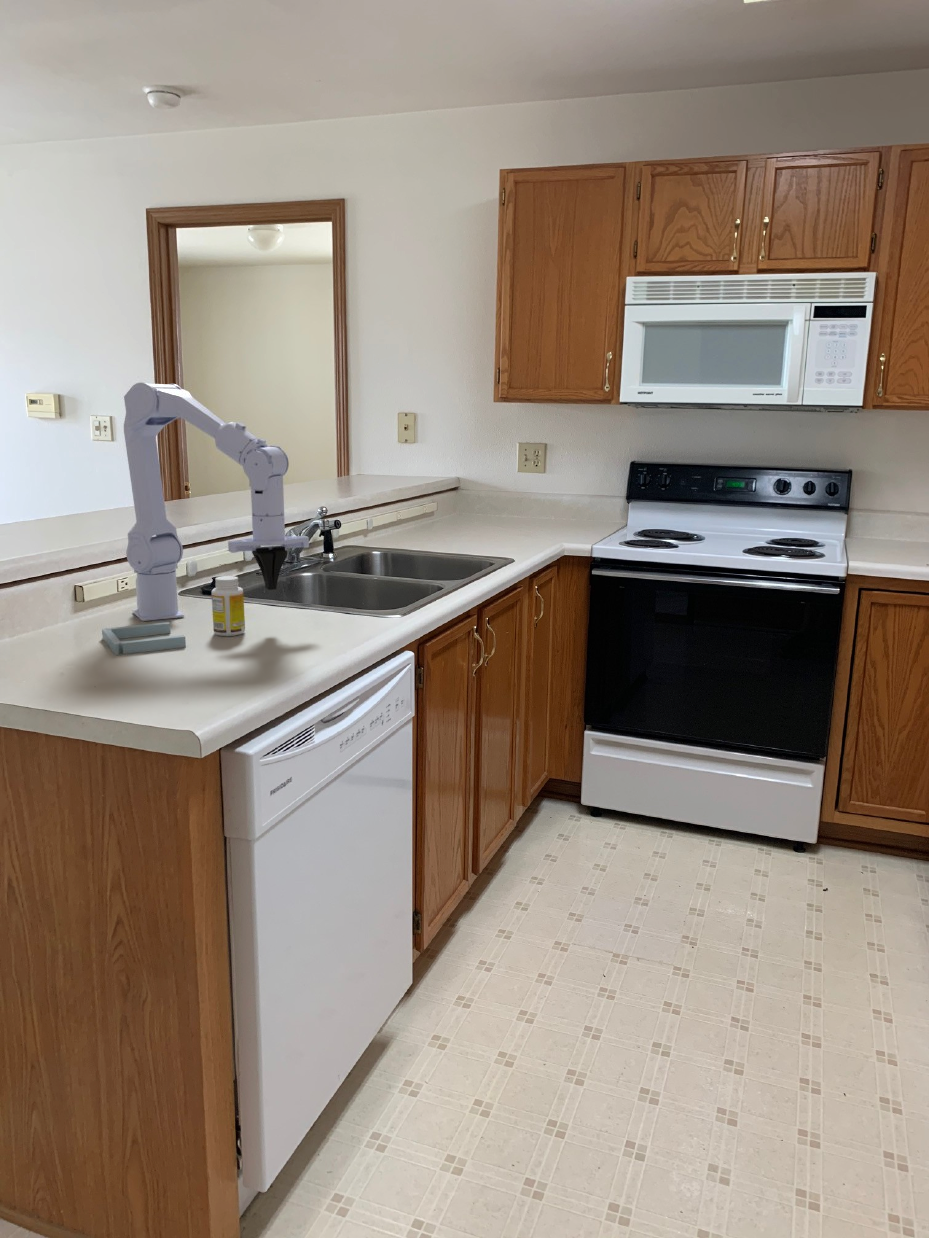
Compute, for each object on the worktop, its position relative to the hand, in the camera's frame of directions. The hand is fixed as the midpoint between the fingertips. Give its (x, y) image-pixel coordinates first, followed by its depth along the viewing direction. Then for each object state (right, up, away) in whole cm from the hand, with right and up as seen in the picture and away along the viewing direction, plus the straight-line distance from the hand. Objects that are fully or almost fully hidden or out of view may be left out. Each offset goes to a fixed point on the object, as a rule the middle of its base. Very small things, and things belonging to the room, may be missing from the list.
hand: (271, 588), depth 168 cm
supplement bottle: (-7, -8, -2) cm, 11 cm away
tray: (-20, -10, -10) cm, 24 cm away
